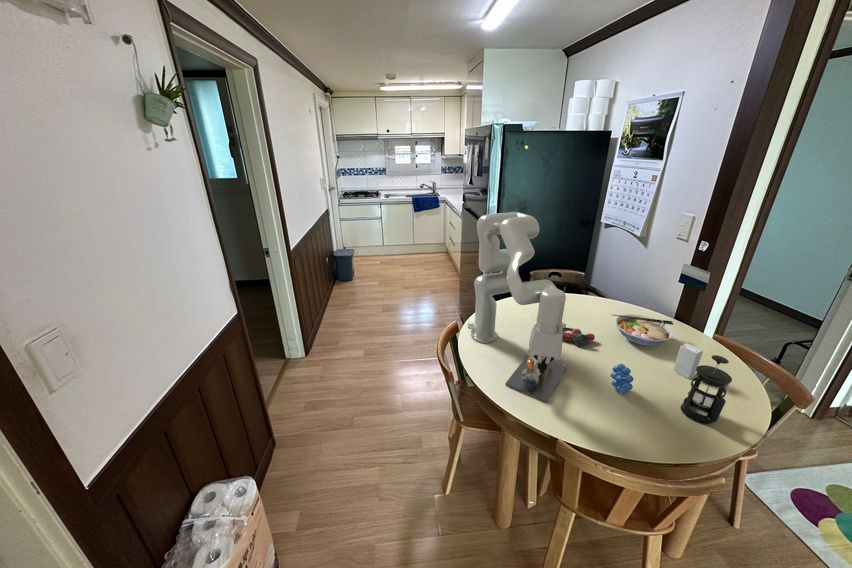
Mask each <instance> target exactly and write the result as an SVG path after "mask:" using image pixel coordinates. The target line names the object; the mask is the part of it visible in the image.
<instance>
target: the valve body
mask: <svg viewBox="0 0 852 568" xmlns="http://www.w3.org/2000/svg"><path fill="white" fill-rule="evenodd" d="M544 358H545V356H544V357H543V358H542V359H544ZM528 359H534V357H532V356H529V355H528V354H527V355H526V356H525V358H523V360H522V362H521V363H520V364H519V365H518V367H516V369H515V370H514V371H513V373H512V374H511V375H510V376H509V378H508V379H507V381H506V382H505V384H504V385H505V386H506V387H508V388H510V389H512V390H515V391H516V392H519V393H522V394H524V395H527V396H529V397H530V398H534V399H535V400H538V401H540V402H542V403H544V404H548V403H549V400H550V399H551V397H552V395H553V394H554V392H555V390H556V389H557V386H558V385H559V383H560V381H561V380H562V378H563V376H564V374H565V372H566V371H567V369H568V366H567V365H565V364H562V363H559V362H556V361H554V360H553V361H551V362H549V364H548V365H547V370H545V372H544V373H539V369H537V366H538V363H537V365H536V366H535V368H534V369H533V372H532V373H528V372H526V367H527V360H528Z"/></svg>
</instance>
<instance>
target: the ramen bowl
mask: <svg viewBox="0 0 852 568" xmlns="http://www.w3.org/2000/svg"><path fill="white" fill-rule="evenodd" d="M612 316H613V317H616V318H615V325H616V328H617V329H618V331H619V332H620V334H621V335H622V336H623V337H625V338H626V339H627V340H629V341H631V342H632V343H635V344H639V345H642V346H657V345H659V346H660V345H661V344H665V342H667V341H669V340H670V339H671V338H673V337H674V330H673V329H672V328H671V327H670V326H671V325H672V326H674V323H673V320H665V319H657V318H653V317H650V316H647V315H646V316H645V315H641V314H635V313H634V314H631V313H628V314H627V313H626V314H622V315H621V314H619V315H618V314H612ZM669 325H670V326H669Z"/></svg>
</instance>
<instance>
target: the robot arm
mask: <svg viewBox="0 0 852 568" xmlns="http://www.w3.org/2000/svg"><path fill="white" fill-rule="evenodd" d="M476 232H477V236H478V240H479V245H478V247H479V248H478V268H479V270H480V271H481V272H482V273H484V274H482V275H478V276H477V277H476V278H475V279H474V282H473V283H474V292H475V305H474V306H475V311H474V312H475V313H474V323H473V322H470V321H469V322H468V323H467V329H470V330H471V333H470V337H471V339H472V340H474V341H476V342H477V343H481V344H489V343H490V344H491V343H493V342H495V341H497V339H498V333H497V331H496V318H497V317H496V316H497V302H496V300H495V298H494V297H493V296H495V295H500V294H501V295H502V294H506V293H510V294H511V296H512V298H513V300H514V302H516V303H517V304H518V305H520V306H526V305H532V304H533V305H534V304H538V312H537V317H536V323H535V324H534V325H533V327H532V330H531V334H530V337H529V344H528V350H527V355H529V356H532V357H534V358H535V359H536V360H537V361H538V366H537V369H539V373H544V372H545V370H547V365H548V364H549V362H551V361H554V360H555V361H556V360H561V356H562V351H563V350H562V349H563V340H562V336H563V335H562V328H567V324H566V323H563V317H564V316H563V315H564V311H565V305H566V300H567V298H566V297H567V296H566V293H565V292H564V291H563V290H561V289H559V288H557V286H556V285H555V284H554V283H553V282H552V281H551V280H549V279H537V280H530V281H524V282H523V281H522V279H521V277H520V274H519V268H520V266H522V265H523V264H525V263H527V262H528V261H530V260H531V259H532V258H533V257H534V256H535V248H534V246H533V244H532V242H531V240H530V239H534V238H535V239H536V237H537V236H538V235H539V233H540V225H539V222H538V219H536V217H534V216H532V215H530V214H526V213H522V212H518V211H509V212H498V213H497V212H496V213H488V214H484V215H481V216H480V217H479V218H478V220H477V222H476ZM498 235H499V236H500V235H501V238H502V240H503V243H504V245H505V248H502V249H500V243H501V242H500V239H499V236H498ZM485 273H486V274H485ZM541 356H545V358H544V359H542V358H541Z"/></svg>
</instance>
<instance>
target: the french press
mask: <svg viewBox="0 0 852 568" xmlns="http://www.w3.org/2000/svg"><path fill="white" fill-rule="evenodd" d="M711 359H712V360H713V361H715V362H716V366H712V365H704V364H703V365H698V367H697V368H696V373H695V376H696V377H695V376H694V377H692V378H691V382H690V386H691V388H690V390H689V391H688V393H687V397H685V398H684V399H683V402H682V404H681V405H680V411H681V413H683V415H684V416H686V418H688V419H689V420H691V421H693V422H696V423H699V424H701V425H712V424H713V423H715V422H717V421H718V419H719V418H720V415H721V413H722V411H723V409H724V407H725V404H726V402H727V401H726V399H725V397H726V395H727V387H728V386H729V385H730V384H731V383H732V382H733V378H732V377H731V376H730V375H729V373H728V372H725V371H724V370H722V369H720V368H719V365H721V364H724V365H725V364H726V365H727V364H729V360H728V359H727V358H726V357H724V356H721V355H718V354H717V355H715V354H714V355H711ZM701 382H702V384H705V385H707V387H706V390H705V391H703V390H702V389H700V388H699V387H700V385H701ZM710 387H713V388H716V389H717V388H718V389H717V392H716V394H711V393H709V392H708V391H709V389H710ZM690 406H691V407H696V408H697V407H698V408H699V409H701V410H703V411H705V412H706V415H705V414H702V413H698V412H696V411H694V410H693V409H691V408H690Z"/></svg>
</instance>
